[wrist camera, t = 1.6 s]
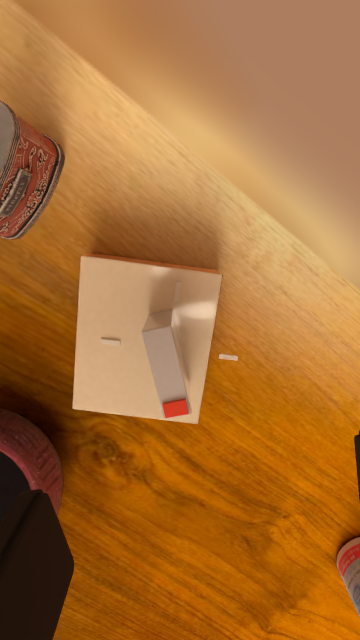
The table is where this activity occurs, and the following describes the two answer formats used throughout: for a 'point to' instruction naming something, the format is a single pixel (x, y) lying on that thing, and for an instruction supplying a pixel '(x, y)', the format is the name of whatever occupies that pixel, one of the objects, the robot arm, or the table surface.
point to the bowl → (26, 462)
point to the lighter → (25, 173)
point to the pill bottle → (351, 569)
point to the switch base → (139, 332)
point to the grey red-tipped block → (167, 363)
